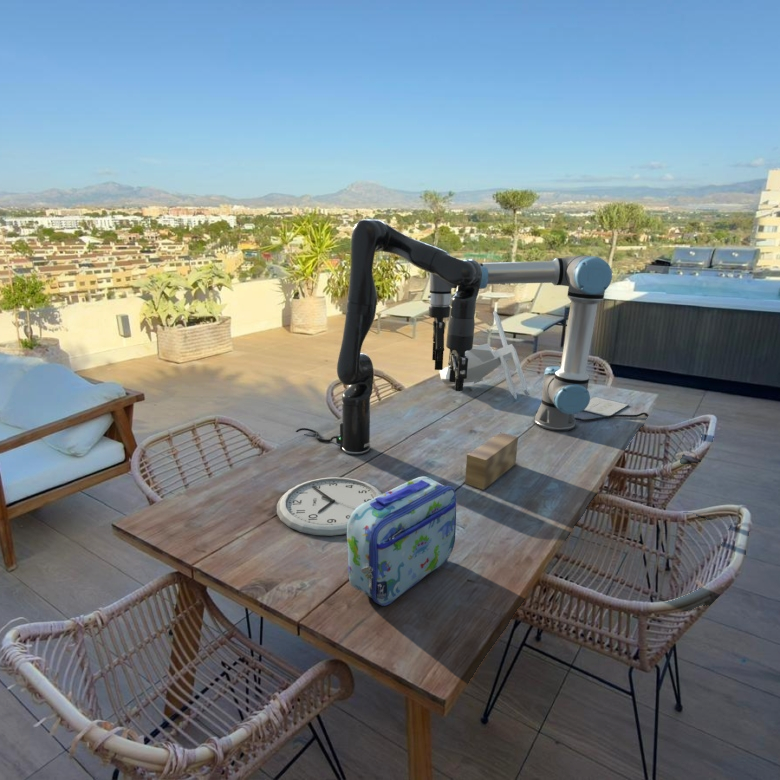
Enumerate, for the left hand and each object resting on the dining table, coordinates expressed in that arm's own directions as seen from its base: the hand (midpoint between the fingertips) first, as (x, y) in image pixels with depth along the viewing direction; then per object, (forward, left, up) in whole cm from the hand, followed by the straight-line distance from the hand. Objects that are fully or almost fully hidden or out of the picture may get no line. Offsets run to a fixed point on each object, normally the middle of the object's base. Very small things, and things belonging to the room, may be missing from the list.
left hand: (455, 386), depth 154 cm
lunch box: (+12, -52, -29) cm, 60 cm away
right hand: (-20, +28, -3) cm, 35 cm away
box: (+11, +7, -29) cm, 31 cm away
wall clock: (-19, -35, -29) cm, 49 cm away
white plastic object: (-24, +84, -29) cm, 92 cm away
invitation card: (+28, +95, -29) cm, 103 cm away
